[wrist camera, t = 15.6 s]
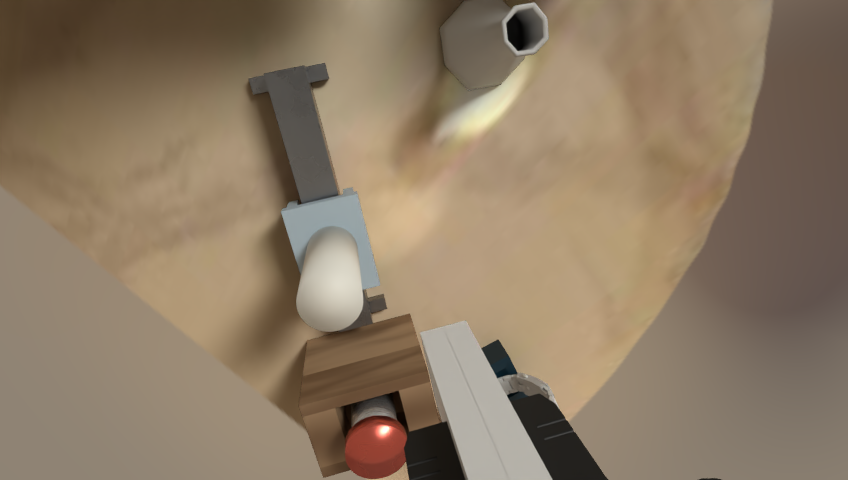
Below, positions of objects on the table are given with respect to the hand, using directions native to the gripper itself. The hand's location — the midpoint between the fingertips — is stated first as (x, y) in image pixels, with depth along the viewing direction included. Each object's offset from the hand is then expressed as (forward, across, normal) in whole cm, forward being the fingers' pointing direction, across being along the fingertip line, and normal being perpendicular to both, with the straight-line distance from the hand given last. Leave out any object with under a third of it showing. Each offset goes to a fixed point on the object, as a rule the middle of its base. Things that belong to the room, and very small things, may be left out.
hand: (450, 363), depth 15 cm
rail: (+28, -5, 0) cm, 29 cm away
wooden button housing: (+28, -5, -16) cm, 33 cm away
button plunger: (+22, -5, -16) cm, 27 cm away
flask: (+29, +11, +10) cm, 32 cm away
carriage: (+27, -5, -3) cm, 28 cm away
